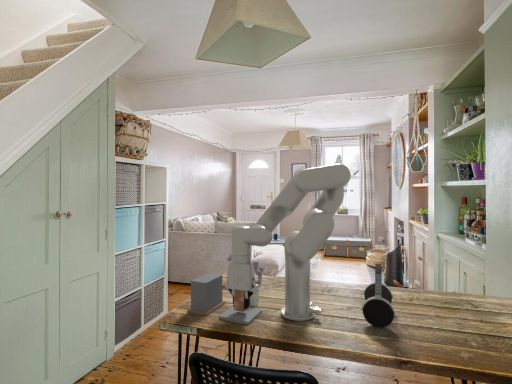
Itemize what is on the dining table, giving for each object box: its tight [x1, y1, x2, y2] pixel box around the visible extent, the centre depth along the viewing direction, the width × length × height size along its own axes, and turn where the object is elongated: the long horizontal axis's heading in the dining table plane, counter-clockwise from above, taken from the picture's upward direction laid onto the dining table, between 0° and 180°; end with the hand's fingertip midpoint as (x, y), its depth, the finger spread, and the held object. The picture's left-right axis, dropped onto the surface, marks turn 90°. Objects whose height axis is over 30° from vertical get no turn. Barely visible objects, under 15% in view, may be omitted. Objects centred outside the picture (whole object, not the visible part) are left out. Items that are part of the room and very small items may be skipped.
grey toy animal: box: [226, 257, 264, 285], centre depth 156 cm, size 20×11×14 cm, turn 79°
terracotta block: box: [234, 290, 248, 312], centre depth 112 cm, size 4×4×8 cm
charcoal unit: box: [187, 273, 226, 316], centre depth 120 cm, size 9×13×12 cm
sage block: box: [249, 283, 260, 308], centre depth 124 cm, size 4×4×8 cm
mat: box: [218, 306, 263, 326], centre depth 112 cm, size 12×12×1 cm
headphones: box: [361, 262, 396, 328], centre depth 111 cm, size 11×20×20 cm, turn 158°
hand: (241, 306), depth 112 cm, fingers closed on terracotta block, 3 cm apart
